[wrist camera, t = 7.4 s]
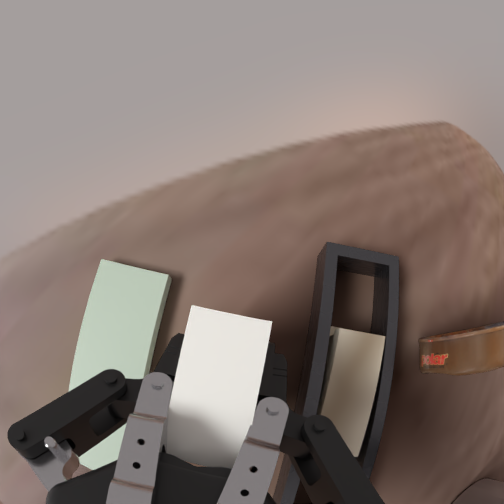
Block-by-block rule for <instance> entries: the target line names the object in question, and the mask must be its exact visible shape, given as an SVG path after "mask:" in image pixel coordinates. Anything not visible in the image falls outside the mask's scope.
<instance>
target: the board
mask: <svg viewBox="0 0 504 504" xmlns="http://www.w3.org/2000/svg"><path fill="white" fill-rule="evenodd" d="M171 281H172V279H171V277H170V276H169V275H167V274H163V273H158V272H154V271H150V270H145V269H141V268H137V267H133V266H128V265H124V264H120V263H116V262H112V261H108V260H104V259H101V262H100V265H99V268H98V271H97V274H96V277H95V280H94V283H93V287H92V290H91V293H90V297H89V300H88V303H87V307H86V311H85V314H84V318H83V322H82V326H81V330H80V334H79V339H78V343H77V348H76V352H75V357H74V362H73V368H72V373H71V379H70V385H69V391H71V390H73V389H74V388H76V387H77V386H79V385H81V384H82V383H84V382H86V381H87V380H89V379H91V378H92V377H94V376H96V375H97V374H99V373H100V372H102V371H104V370H107V369H115V370H118V371H120V372H122V373H123V374H124V376H125V378H129V379H143V378H144V377H145V376H146V375H148V374H149V371H150V366H151V362H152V357H153V353H154V348H155V344H156V339H157V335H158V331H159V327H160V323H161V319H162V315H163V311H164V307H165V303H166V299H167V295H168V292H169V288H170V284H171ZM126 424H127V423H126ZM126 424H125V425H123V426H122V427H121V428H119V429H118V430H116V431H115V432H114V433H112V434H111V435H110V436H108V437H107V438H105V439H104V440H103V441H101V442H100V443H99V444H97V445H96V446H94V447H93V448H91V449H90V450H89V451H87V452H86V453H84V454H83V455H81V456H80V457H79V463H80V464H82V465H84V466H86V467H88V468H90V469H92V470H95V469H97V468H100V467H102V466H104V465H106V464H109V463H111V462H113V461H115V460H117V459H118V456H119V452H120V447H121V443H122V439H123V435H124V431H125V427H126Z"/></svg>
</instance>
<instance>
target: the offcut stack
mask: <svg viewBox="0 0 504 504" xmlns="http://www.w3.org/2000/svg"><path fill="white" fill-rule="evenodd" d="M384 343H385V336H381V335H375V334H371V333H365V332H360V331H354V330H349V329H344V328H338V327H333V326H331V329H330V337H329V344H328V351H327V357H326V364H325V370H324V376H323V382H322V387H321V393H320V398H319V403H318V408H317V413H316V415H323V416H326V417H328V418H329V419H330V420H331V421H332V422H333V424H334V425H335V427H336V429H337V430H338V432H339V433H340V435H341V437H342V438H343V440H344V441H345V443H346V445H347V446H348V448H349V449H350V451H351V452H352V454H353V456H354V457H358V455H359V451H360V448H361V445H362V442H363V439H364V435H365V432H366V428H367V424H368V421H369V417H370V413H371V409H372V405H373V401H374V396H375V392H376V387H377V382H378V377H379V372H380V367H381V361H382V355H383V349H384Z"/></svg>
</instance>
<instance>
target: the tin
mask: <svg viewBox="0 0 504 504" xmlns="http://www.w3.org/2000/svg"><path fill="white" fill-rule="evenodd" d="M418 342H419V347H420V370H421V372H422V373H423V374H427V373H442V374H449V375H457V376H459V375H470V374H476V373H482V372H487V371H491V370H495V369H498V368H501V367H504V321H503V322H499V323H494V324H491V325H486V326H481V327H477V328H472V329H467V330H463V331H457V332H451V333H446V334H440V335H434V336H429V337H423V338H420V339H418Z"/></svg>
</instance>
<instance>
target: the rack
mask: <svg viewBox="0 0 504 504" xmlns="http://www.w3.org/2000/svg"><path fill="white" fill-rule="evenodd" d="M337 270H341V271H346V272H352V273H357V274H363V275H368V276H374V299H373V314H372V326H371V334H375V335H381V336H385V343H384V349H383V355H382V361H381V367H380V372H379V377H378V382H377V387H376V392H375V396H374V401H373V405H372V409H371V413H370V417H369V421H368V424H367V428H366V432H365V435H364V439H363V442H362V445H361V448H360V451H359V455H358V457H355V459H356V460H357V462H358V463H359V465H360V467H361V468H362V470H363V471H364V473H365V474H366V476H367V477H368V479H369V478H370V475H371V472H372V469H373V465H374V462H375V458H376V455H377V451H378V447H379V443H380V439H381V435H382V430H383V426H384V421H385V416H386V411H387V406H388V401H389V395H390V389H391V382H392V375H393V367H394V359H395V349H396V338H397V325H398V305H399V257H397V256H393V255H388V254H384V253H379V252H374V251H369V250H365V249H360V248H355V247H350V246H345V245H340V244H335V243H330V242H327V243H326V244H325V246H324V247H323V249H322V250H321V252H320V253H319V255H318V258H317V268H316V277H315V285H314V294H313V302H312V309H311V317H310V324H309V330H308V337H307V344H306V350H305V356H304V362H303V368H302V373H301V379H300V384H299V390H298V395H297V400H296V405H295V410H294V412H295V413H296V414H299V415H301V416H304V417H307V418H308V417H310V416H312V415H316V413H317V408H318V403H319V398H320V393H321V387H322V382H323V376H324V370H325V364H326V357H327V351H328V344H329V337H330V329H331V321H332V312H333V303H334V294H335V283H336V271H337ZM299 482H300V478H299V476H298V474H297V472H296V470H295V468H294V466H293V464H292V462H291V460H290V458H289V456H288V454H286V453H285V455H284V459H283V463H282V467H281V470H280V474H279V478H278V482H277V485H276V489H275V493H274V496H273V500H274V501H275V502H276V504H293V502H294V499H295V496H296V493H297V489H298V486H299Z"/></svg>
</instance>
